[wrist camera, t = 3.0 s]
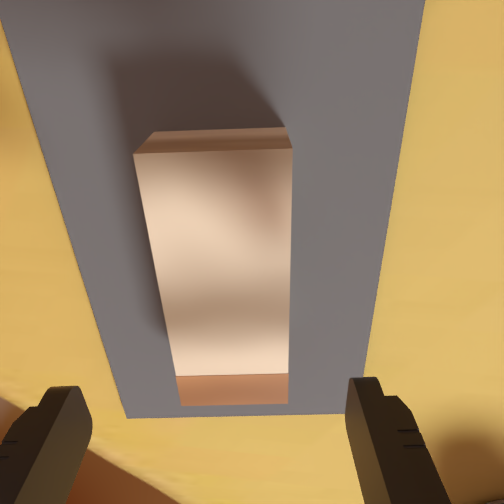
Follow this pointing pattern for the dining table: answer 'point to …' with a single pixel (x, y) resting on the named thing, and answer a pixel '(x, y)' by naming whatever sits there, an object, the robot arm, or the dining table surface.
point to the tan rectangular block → (222, 258)
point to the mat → (212, 118)
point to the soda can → (496, 502)
